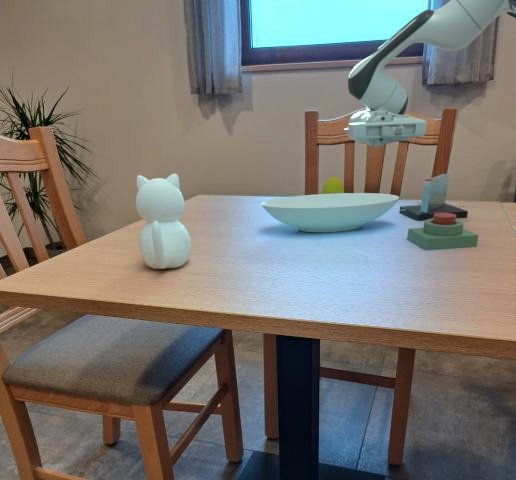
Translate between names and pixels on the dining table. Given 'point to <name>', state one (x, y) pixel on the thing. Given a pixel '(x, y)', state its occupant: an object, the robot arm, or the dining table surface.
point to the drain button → (444, 218)
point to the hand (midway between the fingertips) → (398, 131)
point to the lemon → (333, 186)
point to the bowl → (330, 210)
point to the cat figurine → (162, 223)
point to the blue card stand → (434, 193)
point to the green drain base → (442, 236)
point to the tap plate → (416, 215)
